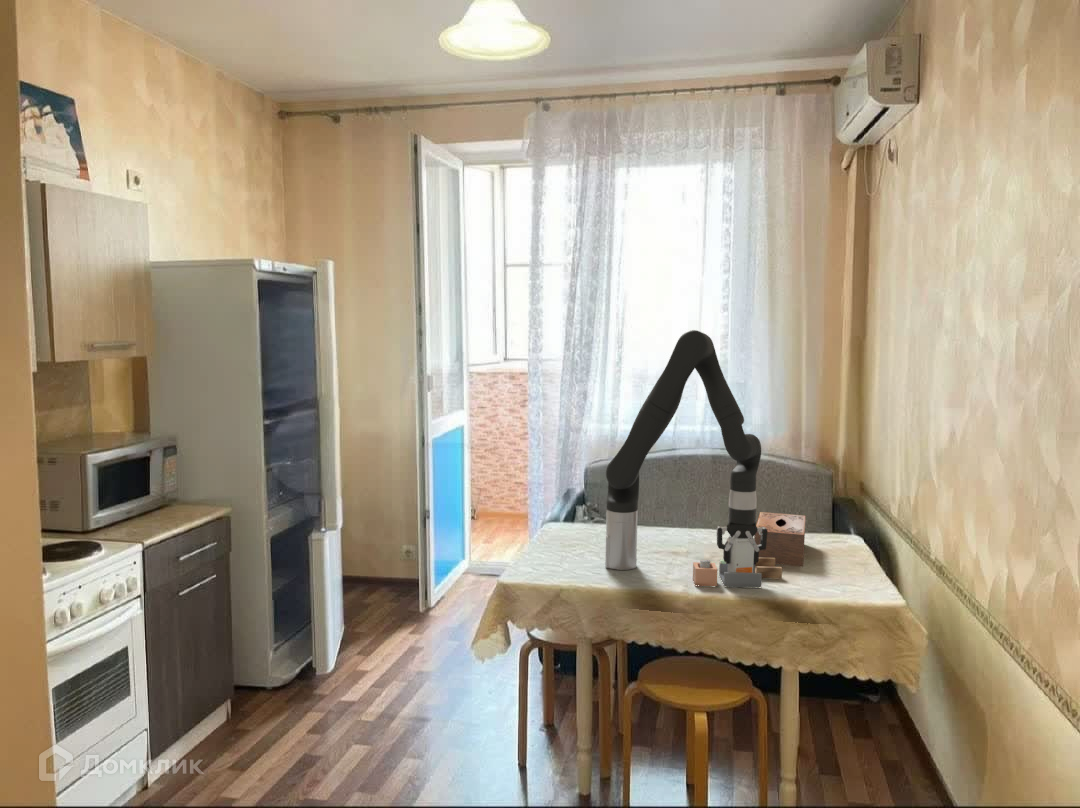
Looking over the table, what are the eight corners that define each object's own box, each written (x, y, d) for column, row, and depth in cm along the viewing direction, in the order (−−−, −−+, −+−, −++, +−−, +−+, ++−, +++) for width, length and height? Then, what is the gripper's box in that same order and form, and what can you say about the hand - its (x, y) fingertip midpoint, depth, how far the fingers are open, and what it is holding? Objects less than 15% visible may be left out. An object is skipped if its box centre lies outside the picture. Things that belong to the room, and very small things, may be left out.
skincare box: (734, 581, 230) (735, 539, 229) (727, 576, 234) (728, 535, 233) (753, 580, 232) (755, 538, 230) (746, 575, 236) (747, 534, 235)
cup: (695, 586, 229) (695, 563, 228) (692, 579, 235) (693, 557, 234) (717, 586, 229) (717, 564, 228) (713, 580, 235) (714, 558, 234)
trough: (756, 578, 237) (757, 567, 236) (750, 567, 247) (750, 556, 247) (781, 579, 236) (782, 568, 236) (774, 568, 246) (774, 557, 246)
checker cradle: (724, 587, 228) (724, 570, 228) (718, 575, 239) (719, 559, 238) (761, 588, 228) (761, 571, 227) (754, 576, 238) (754, 560, 237)
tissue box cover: (802, 567, 248) (804, 534, 247) (753, 562, 253) (754, 530, 252) (804, 545, 273) (805, 515, 272) (759, 541, 277) (760, 511, 276)
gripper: (718, 508, 228) (716, 566, 229) (771, 509, 227) (769, 568, 228) (714, 502, 235) (713, 559, 237) (765, 503, 234) (764, 560, 236)
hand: (740, 563), depth 233 cm, fingers closed on skincare box, 7 cm apart
